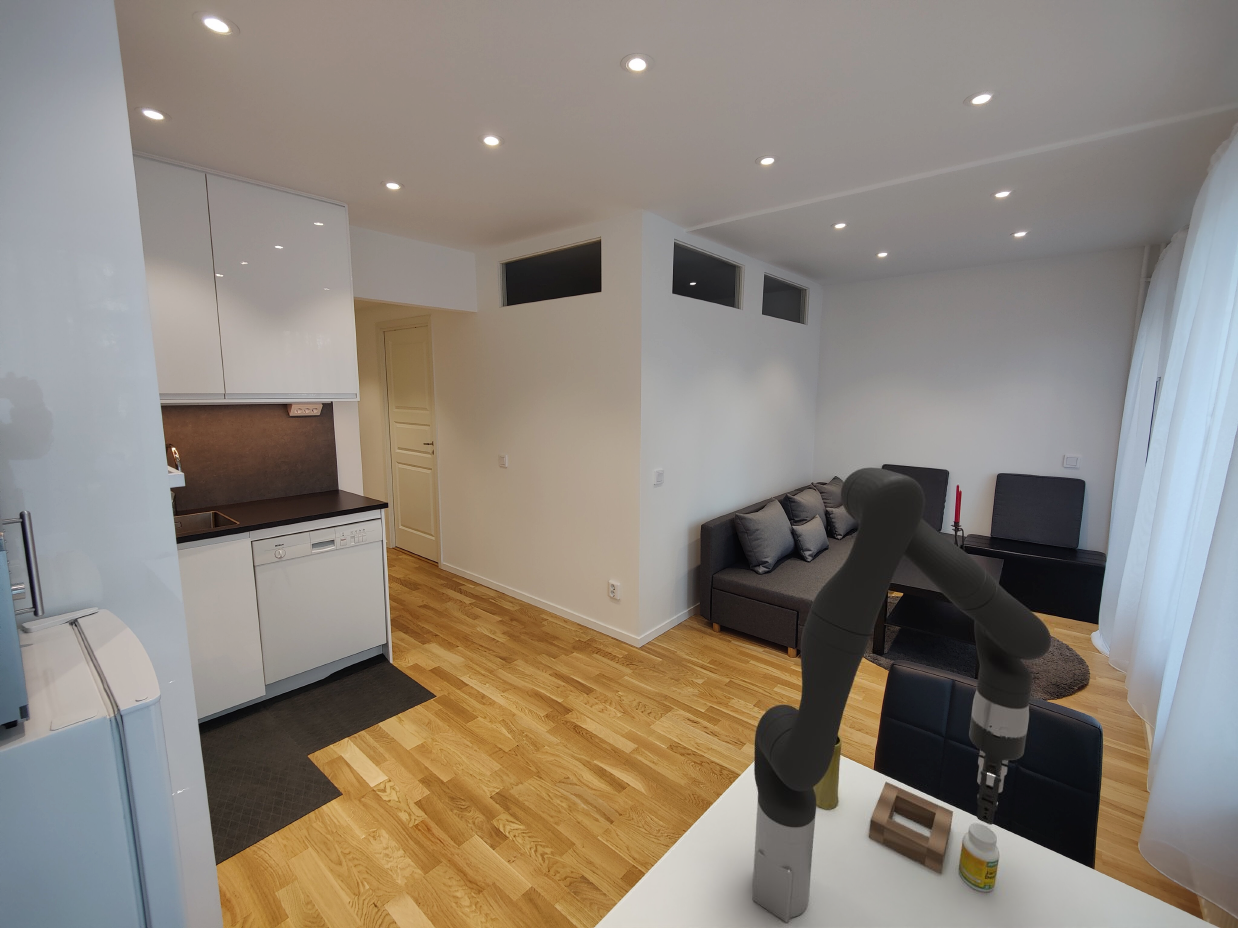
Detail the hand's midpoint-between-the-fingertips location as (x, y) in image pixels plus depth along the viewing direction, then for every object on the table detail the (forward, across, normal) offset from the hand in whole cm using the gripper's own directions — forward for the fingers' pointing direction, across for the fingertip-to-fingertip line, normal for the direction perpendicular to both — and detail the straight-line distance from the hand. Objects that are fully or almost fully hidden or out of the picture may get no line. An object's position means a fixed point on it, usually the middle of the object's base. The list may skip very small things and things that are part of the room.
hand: (987, 804), depth 91 cm
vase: (+15, -1, -27) cm, 31 cm away
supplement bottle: (+15, 0, 0) cm, 15 cm away
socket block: (+15, -3, -11) cm, 19 cm away
